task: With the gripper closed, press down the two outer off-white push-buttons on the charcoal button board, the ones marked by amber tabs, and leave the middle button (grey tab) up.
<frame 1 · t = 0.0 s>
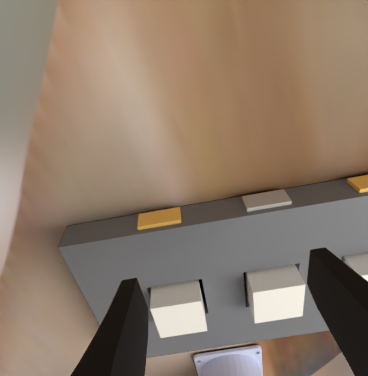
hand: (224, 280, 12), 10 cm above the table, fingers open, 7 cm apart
button middle: (273, 291, 23), point 3 cm above the table, slide at 0.0 cm
button 2: (179, 306, 24), point 3 cm above the table, slide at 0.0 cm
button board: (262, 264, 26), on the table
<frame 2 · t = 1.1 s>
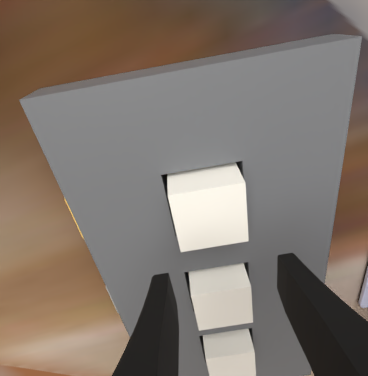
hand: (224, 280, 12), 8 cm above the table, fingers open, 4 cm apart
button middle: (220, 294, 20), point 3 cm above the table, slide at 0.0 cm
button 2: (228, 352, 25), point 3 cm above the table, slide at 0.0 cm
button board: (214, 263, 23), on the table
button 1: (207, 206, 16), point 3 cm above the table, slide at 0.0 cm
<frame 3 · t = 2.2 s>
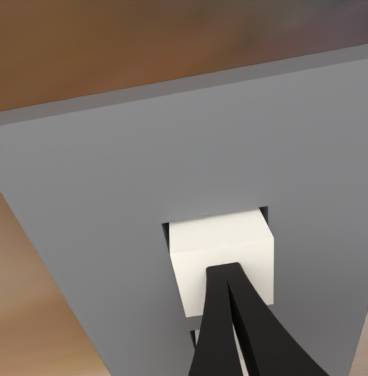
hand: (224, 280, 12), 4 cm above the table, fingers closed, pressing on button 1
button middle: (233, 356, 17), point 3 cm above the table, slide at 0.0 cm
button board: (224, 310, 19), on the table
button 1: (220, 259, 13), point 3 cm above the table, slide at 0.2 cm, touching gripper
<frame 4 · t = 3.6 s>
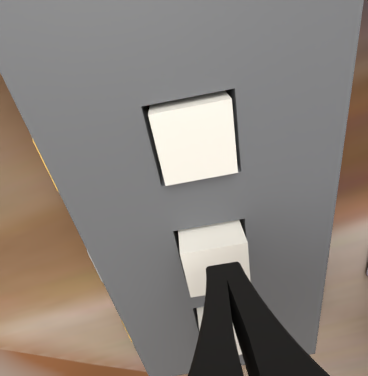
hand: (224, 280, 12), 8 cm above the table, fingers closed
button middle: (214, 257, 18), point 3 cm above the table, slide at 0.0 cm
button 2: (225, 327, 22), point 3 cm above the table, slide at 0.0 cm
button board: (207, 227, 21), on the table
button 1: (193, 136, 15), point 2 cm above the table, slide at 1.2 cm
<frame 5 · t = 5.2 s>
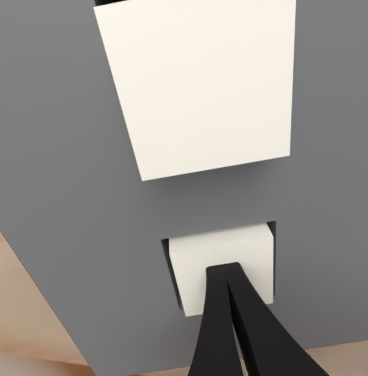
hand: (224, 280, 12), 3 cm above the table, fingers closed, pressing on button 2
button middle: (200, 82, 7), point 3 cm above the table, slide at 0.0 cm
button 2: (220, 258, 13), point 2 cm above the table, slide at 1.2 cm, touching gripper
button board: (191, 65, 10), on the table
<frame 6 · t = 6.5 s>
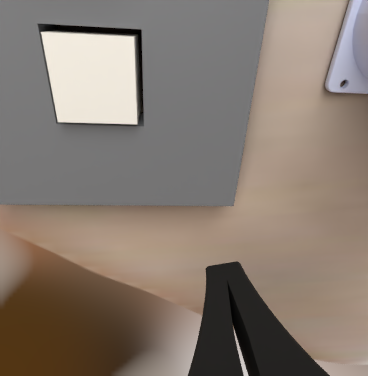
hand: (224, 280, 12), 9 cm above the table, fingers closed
button 2: (98, 77, 14), point 2 cm above the table, slide at 1.2 cm
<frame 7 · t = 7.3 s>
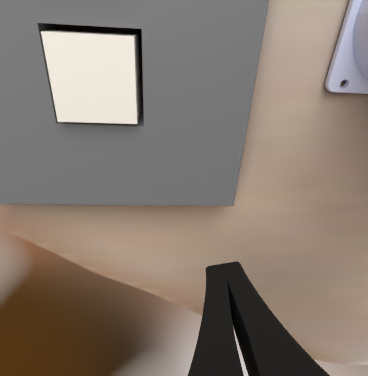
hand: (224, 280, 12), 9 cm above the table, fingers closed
button 2: (98, 77, 14), point 2 cm above the table, slide at 1.2 cm
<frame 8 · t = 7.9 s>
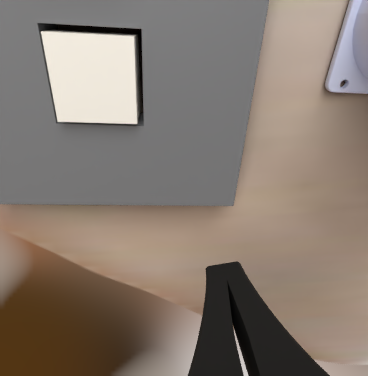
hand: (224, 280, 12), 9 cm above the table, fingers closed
button 2: (98, 77, 14), point 2 cm above the table, slide at 1.2 cm
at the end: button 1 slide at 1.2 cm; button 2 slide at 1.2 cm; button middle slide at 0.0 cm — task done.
